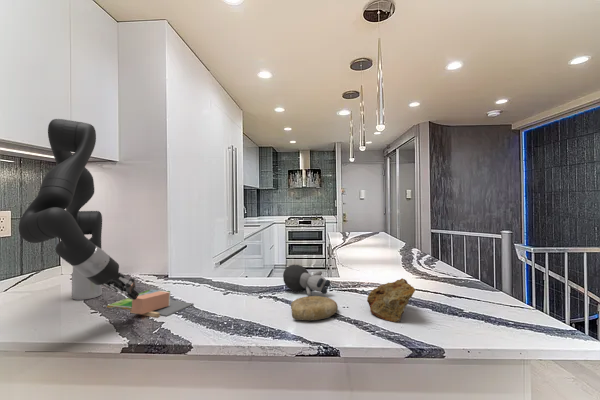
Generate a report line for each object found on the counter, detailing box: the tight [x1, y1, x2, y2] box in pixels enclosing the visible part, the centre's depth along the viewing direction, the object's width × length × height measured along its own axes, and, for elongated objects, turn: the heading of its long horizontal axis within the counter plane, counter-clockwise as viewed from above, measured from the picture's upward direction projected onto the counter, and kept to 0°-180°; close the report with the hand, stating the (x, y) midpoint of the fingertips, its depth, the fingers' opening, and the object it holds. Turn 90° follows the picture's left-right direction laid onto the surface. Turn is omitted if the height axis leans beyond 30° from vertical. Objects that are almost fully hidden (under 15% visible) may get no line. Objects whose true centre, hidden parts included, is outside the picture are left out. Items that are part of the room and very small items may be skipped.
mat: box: [152, 299, 195, 318], centre depth 104 cm, size 16×12×1 cm
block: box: [132, 290, 171, 315], centre depth 100 cm, size 4×4×11 cm
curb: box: [129, 309, 161, 319], centre depth 97 cm, size 12×1×1 cm, turn 67°
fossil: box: [290, 295, 339, 321], centre depth 97 cm, size 17×15×5 cm
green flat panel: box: [106, 289, 171, 311], centre depth 113 cm, size 20×1×10 cm
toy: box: [282, 264, 331, 296], centre depth 120 cm, size 11×12×20 cm
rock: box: [366, 278, 416, 323], centre depth 97 cm, size 20×15×10 cm
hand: (135, 296), depth 94 cm, fingers closed
